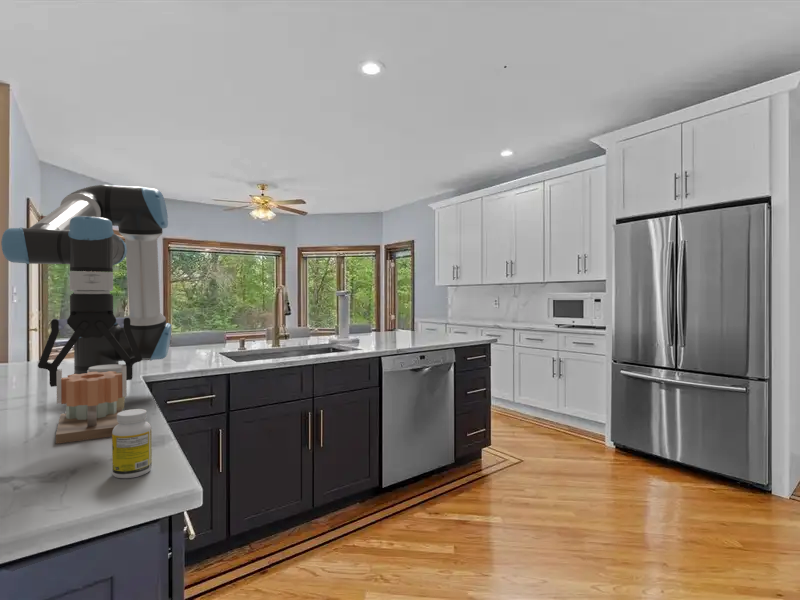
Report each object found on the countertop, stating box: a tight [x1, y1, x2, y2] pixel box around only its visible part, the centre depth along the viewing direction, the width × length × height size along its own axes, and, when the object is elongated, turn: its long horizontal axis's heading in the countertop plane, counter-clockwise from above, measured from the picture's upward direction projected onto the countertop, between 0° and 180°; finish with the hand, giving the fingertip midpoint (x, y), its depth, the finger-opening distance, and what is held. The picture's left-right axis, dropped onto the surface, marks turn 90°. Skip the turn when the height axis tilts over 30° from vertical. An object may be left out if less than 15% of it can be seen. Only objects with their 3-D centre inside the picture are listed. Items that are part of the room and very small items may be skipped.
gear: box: [65, 401, 117, 420], centre depth 118 cm, size 11×11×5 cm
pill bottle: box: [111, 408, 153, 479], centre depth 86 cm, size 6×6×11 cm
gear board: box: [55, 405, 123, 445], centre depth 113 cm, size 20×13×9 cm, turn 33°
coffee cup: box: [87, 364, 126, 411], centre depth 130 cm, size 9×9×12 cm
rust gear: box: [60, 371, 122, 407], centre depth 99 cm, size 11×11×5 cm
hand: (92, 398), depth 99 cm, fingers closed on rust gear, 11 cm apart
